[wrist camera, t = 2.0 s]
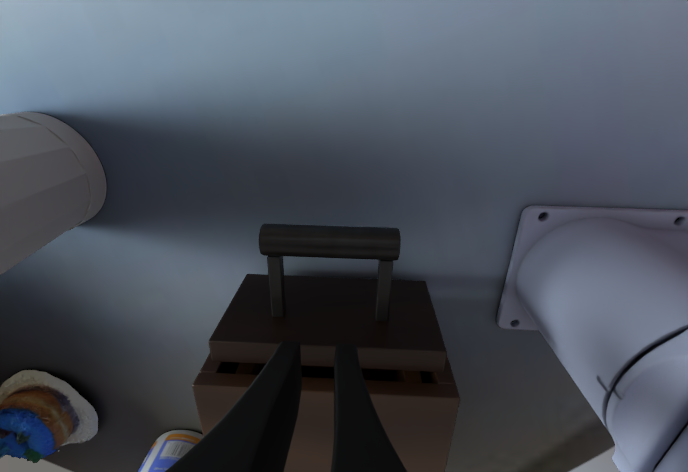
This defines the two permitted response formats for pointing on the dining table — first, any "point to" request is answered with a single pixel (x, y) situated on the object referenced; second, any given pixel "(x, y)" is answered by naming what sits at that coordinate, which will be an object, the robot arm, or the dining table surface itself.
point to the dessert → (42, 416)
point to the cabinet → (318, 415)
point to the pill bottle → (169, 450)
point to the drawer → (332, 309)
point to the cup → (43, 183)
